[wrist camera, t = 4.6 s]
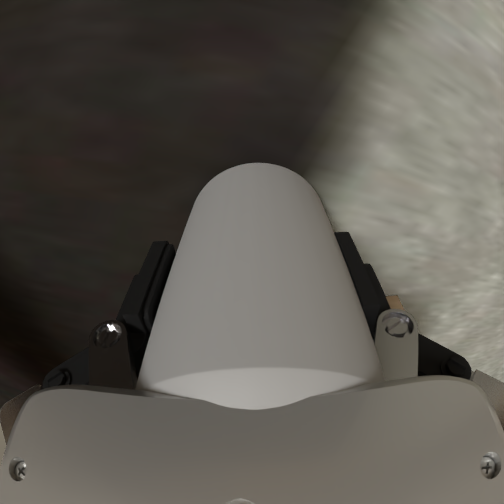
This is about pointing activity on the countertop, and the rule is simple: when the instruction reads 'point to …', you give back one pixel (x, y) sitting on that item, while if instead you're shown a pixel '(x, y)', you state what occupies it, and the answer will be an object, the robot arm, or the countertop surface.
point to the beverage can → (258, 300)
